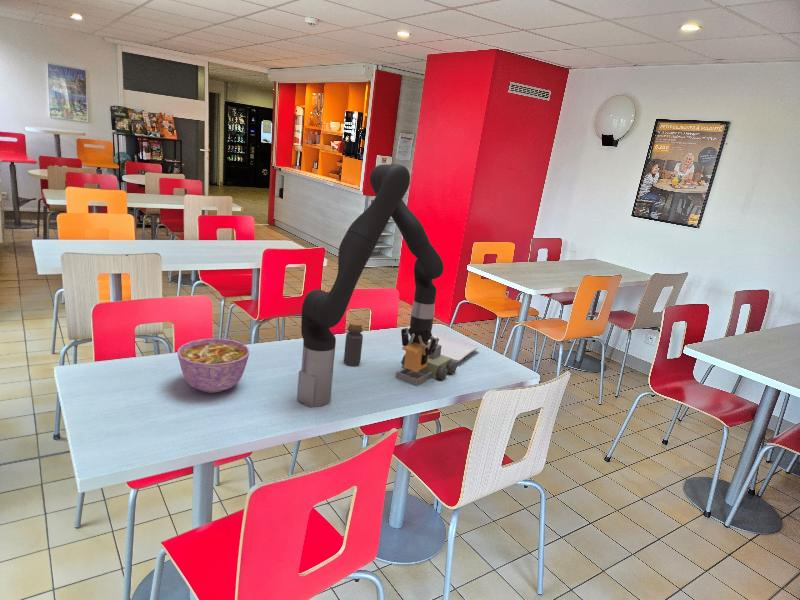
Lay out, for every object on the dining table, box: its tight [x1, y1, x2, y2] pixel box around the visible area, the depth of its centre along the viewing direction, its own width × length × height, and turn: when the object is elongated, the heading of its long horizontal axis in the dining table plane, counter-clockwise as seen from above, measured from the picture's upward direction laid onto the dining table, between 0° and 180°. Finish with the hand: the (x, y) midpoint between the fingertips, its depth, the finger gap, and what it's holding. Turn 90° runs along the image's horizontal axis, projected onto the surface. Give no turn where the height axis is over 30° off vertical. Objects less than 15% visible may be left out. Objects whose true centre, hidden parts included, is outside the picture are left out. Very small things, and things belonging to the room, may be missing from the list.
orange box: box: [401, 343, 430, 372], centre depth 179 cm, size 10×5×8 cm, turn 146°
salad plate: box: [428, 331, 479, 364], centre depth 209 cm, size 21×21×3 cm
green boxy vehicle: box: [395, 342, 458, 387], centre depth 186 cm, size 20×16×9 cm
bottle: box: [343, 320, 364, 367], centre depth 186 cm, size 6×6×15 cm
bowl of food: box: [177, 338, 251, 394], centre depth 157 cm, size 20×20×12 cm
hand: (416, 361), depth 181 cm, fingers closed on orange box, 5 cm apart
